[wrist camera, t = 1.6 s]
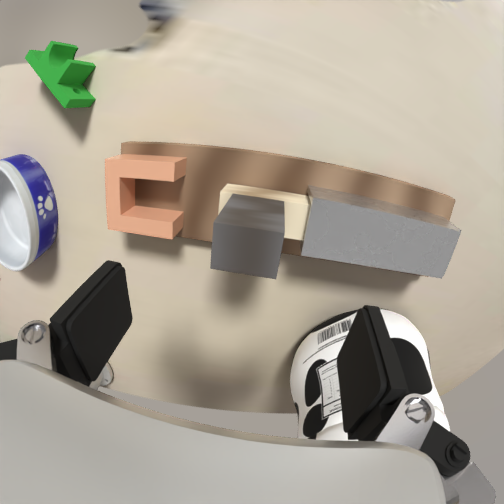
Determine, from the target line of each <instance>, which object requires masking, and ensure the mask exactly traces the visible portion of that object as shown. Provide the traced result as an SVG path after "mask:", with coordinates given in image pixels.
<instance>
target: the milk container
mask: <svg viewBox="0 0 504 504" xmlns="http://www.w3.org/2000/svg"><path fill="white" fill-rule="evenodd" d="M357 311H358V310H354V311H350V312H346V313H343V314H340V315H337V316H335V317H333V318H331V319H329V320H328V321H326V322H324V323H322V324H321V325H319V326H318V327H316V328H315V329H314V330H313V331H312V332H311V333H310V334H309V335H308V336H307V337H306V338H305V339H304V340H303V342H302V343H301V345H300V346H299V348H298V349H297V351H296V354H295V357H294V360H293V364H292V368H291V375H290V387H291V394H292V397H293V401H294V403H295V406H296V409H297V413H298V438H300V439H315V440H341V441H358V440H348V434H347V433H345V432H344V430H343V419H342V408H341V398H340V388H339V379H338V371H337V356H338V354H339V352H340V349H341V347H342V345H343V343H344V341H345V339H346V337H347V334H348V332H349V330H350V328H351V325H352V323H353V321H354V318H355V316H356V314H357ZM380 311H381V313H382V316H383V319H384V321H385V324H386V327H387V330H388V332H389V335H390V338H391V341H392V342H393V344H394V346H395V349H396V352H397V355H398V358H399V361H400V364H401V367H402V370H403V373H404V376H405V380H406V383H407V386H408V390H409V393H410V394H420V395H422V396H425V397H426V398H427V399H429V400H430V402H431V403H432V404H433V407H434V409H435V417H434V421H436V422H437V423H438V424H440V425H441V426H443V427H444V428H445V429H447V430H448V431H450V428H449V423H448V420H447V417H446V415H445V413H444V408H443V404H442V402H441V400H440V397H439V395H438V392H437V390H436V388H435V385H434V383H433V380H432V376H431V367H430V358H429V352H428V349H427V346H426V343H425V341H424V339H423V337H422V335H421V334H420V332H419V331H418V330H417V328H416V327H415V326H414V325H413V324H412V323H411V322H410V321H409V320H408V319H407V318H405V317H404V316H402V315H400V314H398V313H395V312H392V311H390V310H386V309H380Z"/></svg>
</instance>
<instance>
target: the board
mask: <svg viewBox="0 0 504 504" xmlns="http://www.w3.org/2000/svg"><path fill="white" fill-rule="evenodd" d="M121 154H135V155H156V156H172V157H185V158H187V161H186V175H184V176H183V177H181V178H179V179H178V180H176V181H174V182H171V181H161V180H150V179H137V178H135V206H144V207H152V208H160V209H168V210H175V211H183V212H184V219H183V228H182V229H181V230H180V231H179V233H178V234H177V235H176V236H177V237H184V238H190V239H197V240H203V241H209V242H212V237H213V223H214V221H215V219H216V218H217V216H218V212H219V200H220V191H221V190H222V189H223V188H224V187H225V186H226V185H227V184H235V185H242V186H250V187H256V188H263V189H270V190H276V191H282V192H288V193H294V194H300V195H306V196H309V195H308V193H307V190H308V185H311V186H316V187H321V188H326V189H332V190H337V191H341V192H346V193H351V194H356V195H360V196H365V197H369V198H373V199H378V200H382V201H386V202H390V203H394V204H398V205H402V206H406V207H410V208H414V209H417V210H421V211H425V212H428V213H432V214H435V215H439V216H442V217H444V218H446V219H447V220H448V221H449V220H450V217H451V213H452V210H453V207H454V203H455V199H453V198H452V197H450V196H448V195H445V194H442V193H439V192H436V191H433V190H430V189H427V188H423V187H420V186H417V185H414V184H410V183H407V182H403V181H400V180H396V179H393V178H389V177H385V176H381V175H377V174H374V173H370V172H365V171H361V170H357V169H353V168H348V167H344V166H339V165H335V164H330V163H325V162H320V161H315V160H309V159H304V158H298V157H293V156H287V155H280V154H274V153H267V152H260V151H253V150H245V149H237V148H228V147H218V146H207V145H195V144H181V143H162V142H125V143H121ZM281 253H285V254H292V255H298V256H301V251H300V242H299V240H296V239H290V238H284V240H283V246H282V251H281ZM304 257H308V256H304ZM310 258H314V257H310ZM316 259H320V258H316ZM323 260H326V259H323ZM329 261H333V260H329ZM335 262H339V261H335ZM341 263H345V262H341ZM347 264H351V263H347ZM354 265H357V264H354ZM360 266H363V265H360ZM366 267H369V266H366ZM372 268H376V267H372ZM378 269H382V268H378ZM384 270H388V269H384ZM391 271H394V270H391ZM397 272H400V271H397ZM403 273H406V272H403ZM409 274H412V273H409ZM415 275H418V274H415ZM421 276H424V275H421ZM427 277H428V276H427Z"/></svg>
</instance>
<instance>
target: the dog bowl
mask: <svg viewBox="0 0 504 504" xmlns="http://www.w3.org/2000/svg"><path fill="white" fill-rule="evenodd" d="M57 228H58V211H57V203H56V198H55V194H54V191H53V188H52V185H51V182H50V180H49V178H48V176H47V174H46V172H45V171H44V169H43V168H42V166H41V165H40V164H39V163H38V162H37V161H36V160H35V159H33V158H32V157H30V156H28V155H24V154H20V155H15V156H12V157H8V158H5V159H1V160H0V263H1V264H2V265H3V266H4V267H6V268H8V269H9V270H12V271H21V270H23V269H24V268H26V267H27V266H28V265H29V264H31V263H32V262H33V261H35V260H36V259H37V258H38V257H39V256H41V255H42V254H43V253H44V252H45V251H46V250H47V249H49V248H50V246H51V245H52V244H53V242H54V240H55V237H56V234H57Z"/></svg>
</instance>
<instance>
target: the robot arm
mask: <svg viewBox="0 0 504 504" xmlns="http://www.w3.org/2000/svg"><path fill="white" fill-rule="evenodd" d="M50 321H51V323H50V324H49V325H47V323H45V322H43V321H40V320H36V321H31V322H28V323H27V324H25V325H24V326H23V327H22V328H21V329H20V331H19V333H18V339H15V340H11V341H7V342H3V343H0V504H494V503H495V498H496V495H495V490H494V488H493V487H492V486H491V484H490V483H489V481H488V480H487V479H486V478H485V476H484V475H483V474H482V472H481V471H480V470H479V468H478V467H477V466H476V464H475V463H474V462H473V463H471V464H470V462H469V460H470V451H469V448H468V446H467V444H466V443H465V442H463V441H462V440H461V439H459V438H458V437H457V436H455V435H454V434H452V433H451V432H450V431H448V430H447V429H445V428H444V427H443V426H441V425H440V424H438V423H437V422H436V421H434V417H435V409H434V407H433V404H432V403H431V402H430V400H429V399H427V398H426V397H425V396H422V395H420V394H410V393H409V390H408V386H407V383H406V380H405V376H404V373H403V370H402V367H401V364H400V361H399V358H398V355H397V352H396V349H395V346H394V344H393V342H392V341H391V338H390V335H389V332H388V330H387V327H386V324H385V321H384V319H383V316H382V313H381V311H380V308H379V307H376V306H368V305H365V306H364V307H363V308H360V309H359V310H358V311H357V314H356V316H355V318H354V321H353V323H352V325H351V328H350V330H349V332H348V334H347V337H346V339H345V341H344V343H343V345H342V347H341V349H340V352H339V354H338V356H337V371H338V379H339V388H340V398H341V408H342V419H343V430H344V432H345V433H347V434H348V440H358V441H341V440H315V439H300V438H286V437H277V436H268V435H261V434H254V433H246V432H241V431H235V430H230V429H224V428H219V427H214V426H209V425H205V424H200V423H196V422H192V421H187V420H184V419H180V418H176V417H173V416H169V415H166V414H162V413H159V412H155V411H152V410H149V409H146V408H143V407H140V406H137V405H134V404H131V403H128V402H126V401H123V400H120V399H117V398H115V397H112V396H110V395H107V394H105V393H102V392H100V391H97V389H98V387H99V386H100V385H108V384H109V383H110V382H111V380H112V378H113V372H112V369H111V367H110V365H109V364H108V360H109V358H110V357H111V355H112V354H113V352H114V350H115V349H116V347H117V346H118V344H119V343H120V341H121V339H122V338H123V336H124V335H125V333H126V332H127V330H128V329H129V327H130V325H131V323H132V313H131V307H130V301H129V295H128V288H127V281H126V274H125V269H124V267H122V265H121V263H118V262H114V261H109V260H108V261H106V262H105V263H104V264H103V265H102V266H101V267H100V268H99V269H98V270H97V271H96V272H94V273H93V274H92V275H91V276H90V277H89V278H88V279H87V280H86V281H85V282H84V283H83V284H82V285H81V286H80V287H79V288H78V289H77V290H76V291H75V293H74V294H73V295H72V296H71V297H70V298H69V299H68V300H67V301H66V302H65V303H64V304H63V305H62V306H61V307H60V308H59V309H58V310H57V312H56V313H55V314H54V315H53V316H52V317H51V318H50Z"/></svg>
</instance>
